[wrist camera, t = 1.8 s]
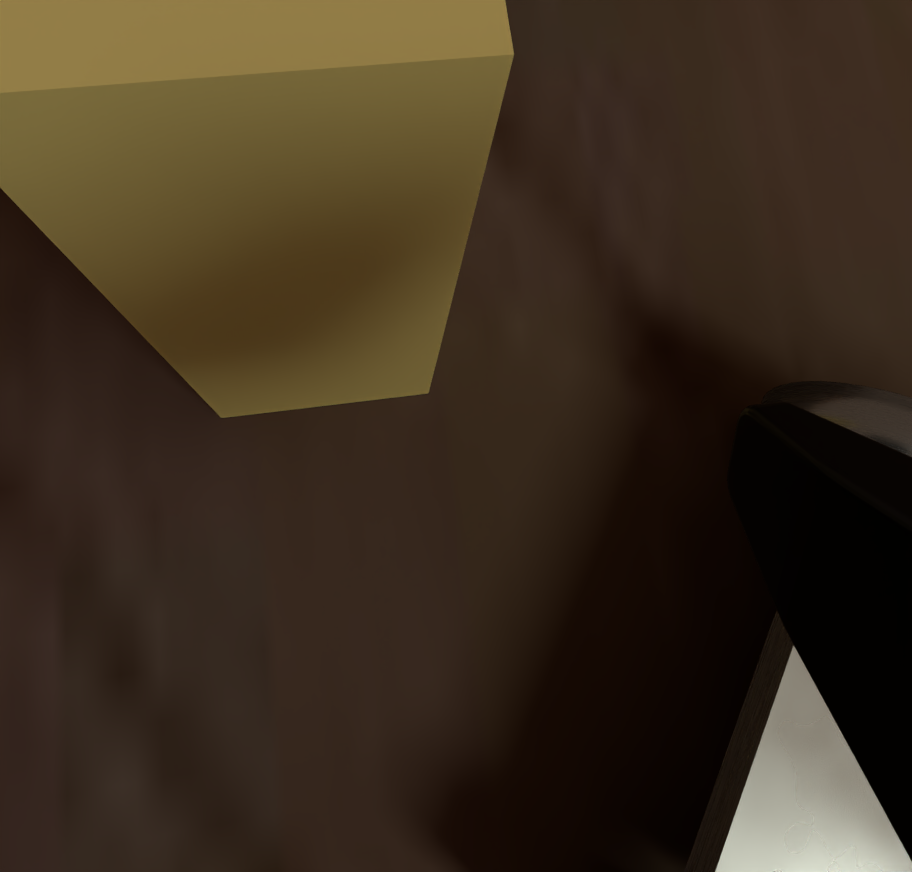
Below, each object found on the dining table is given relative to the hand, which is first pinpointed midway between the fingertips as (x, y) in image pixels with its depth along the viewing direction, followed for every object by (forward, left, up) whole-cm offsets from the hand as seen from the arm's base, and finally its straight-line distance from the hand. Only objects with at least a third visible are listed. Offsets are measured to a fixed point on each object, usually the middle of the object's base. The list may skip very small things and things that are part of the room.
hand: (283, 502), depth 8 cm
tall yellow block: (+5, +3, -12) cm, 14 cm away
